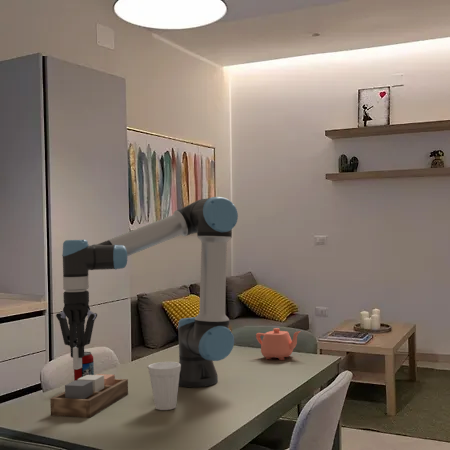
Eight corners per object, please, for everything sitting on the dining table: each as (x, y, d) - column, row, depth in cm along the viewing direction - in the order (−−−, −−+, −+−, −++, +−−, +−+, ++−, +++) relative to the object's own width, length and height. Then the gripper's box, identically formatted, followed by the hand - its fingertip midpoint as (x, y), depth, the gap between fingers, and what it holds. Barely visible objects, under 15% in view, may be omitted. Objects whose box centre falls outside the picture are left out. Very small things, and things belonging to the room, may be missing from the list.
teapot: (297, 362, 245) (296, 332, 245) (250, 359, 253) (249, 330, 253) (307, 356, 257) (306, 326, 257) (262, 353, 265) (261, 325, 265)
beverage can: (89, 390, 211) (88, 355, 211) (71, 389, 213) (70, 355, 213) (97, 385, 218) (96, 351, 218) (79, 384, 219) (78, 351, 219)
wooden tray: (128, 394, 204) (127, 379, 204) (90, 417, 179) (89, 400, 179) (92, 392, 208) (92, 377, 208) (50, 415, 183) (50, 398, 183)
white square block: (104, 387, 195) (103, 375, 196) (95, 392, 190) (94, 379, 190) (87, 387, 197) (86, 374, 197) (77, 392, 191) (77, 379, 191)
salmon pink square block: (115, 386, 203) (114, 374, 203) (106, 391, 197) (106, 378, 197) (98, 386, 204) (98, 373, 204) (89, 390, 199) (89, 378, 199)
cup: (169, 414, 180) (167, 370, 180) (142, 410, 185) (141, 367, 185) (188, 406, 188) (187, 363, 188) (162, 402, 193) (161, 360, 194)
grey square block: (92, 394, 188) (92, 381, 188) (83, 399, 183) (82, 386, 183) (75, 393, 190) (75, 380, 190) (65, 398, 184) (64, 385, 184)
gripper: (101, 289, 188) (103, 366, 188) (63, 289, 192) (65, 365, 192) (89, 291, 181) (91, 372, 181) (50, 291, 185) (51, 370, 184)
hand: (77, 368), depth 186 cm, fingers closed
